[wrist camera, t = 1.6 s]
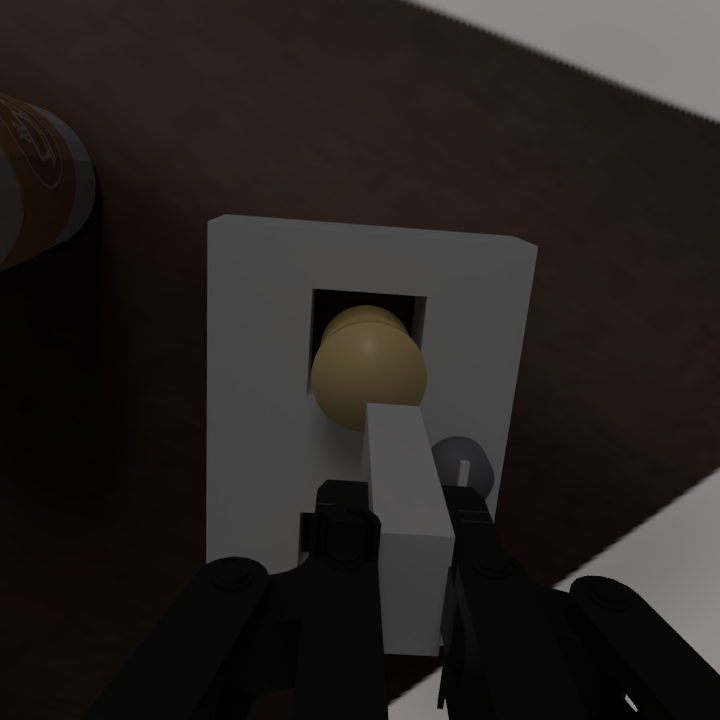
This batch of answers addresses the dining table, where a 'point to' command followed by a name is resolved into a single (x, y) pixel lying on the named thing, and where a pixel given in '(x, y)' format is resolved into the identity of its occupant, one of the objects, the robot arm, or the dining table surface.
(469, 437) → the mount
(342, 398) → the knob
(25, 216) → the coffee cup
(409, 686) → the dining table surface
